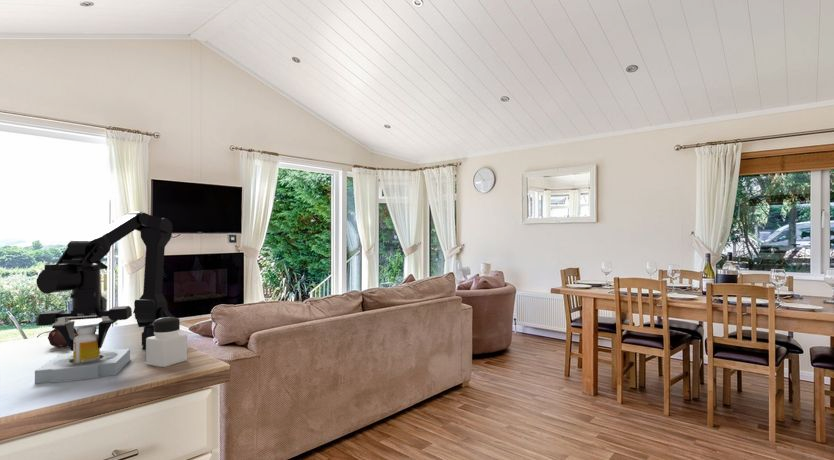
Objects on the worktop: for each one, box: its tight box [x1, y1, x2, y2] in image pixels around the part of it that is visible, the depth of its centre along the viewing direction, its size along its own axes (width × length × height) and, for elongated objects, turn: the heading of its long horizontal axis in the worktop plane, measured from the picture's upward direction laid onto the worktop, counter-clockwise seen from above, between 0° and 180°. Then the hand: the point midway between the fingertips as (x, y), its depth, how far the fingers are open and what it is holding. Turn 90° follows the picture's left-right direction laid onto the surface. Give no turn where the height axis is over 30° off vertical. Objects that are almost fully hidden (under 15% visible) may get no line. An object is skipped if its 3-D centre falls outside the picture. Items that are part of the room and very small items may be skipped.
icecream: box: [47, 327, 78, 349], centre depth 134 cm, size 7×7×15 cm
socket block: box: [34, 348, 131, 384], centre depth 110 cm, size 16×16×3 cm
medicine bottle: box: [145, 316, 188, 368], centre depth 117 cm, size 7×7×12 cm
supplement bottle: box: [72, 325, 101, 363], centre depth 111 cm, size 5×5×10 cm
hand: (86, 349), depth 111 cm, fingers closed on supplement bottle, 5 cm apart
